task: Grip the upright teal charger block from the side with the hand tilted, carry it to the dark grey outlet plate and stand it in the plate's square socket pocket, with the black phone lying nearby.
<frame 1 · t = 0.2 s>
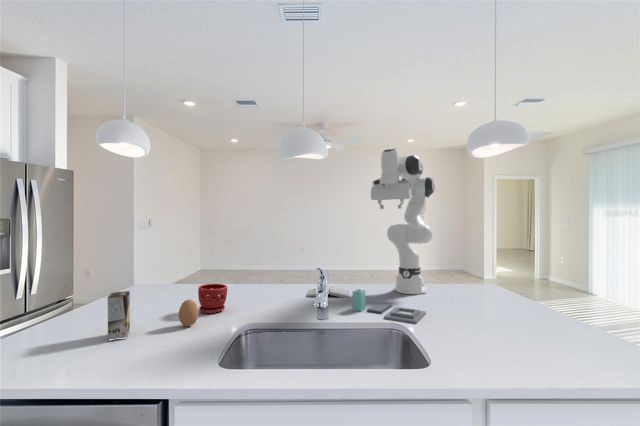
hand: (390, 208, 173), 48 cm above the worktop, tool pointing down, fingers open, 8 cm apart
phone: (379, 309, 165), on the worktop
gadget: (328, 295, 195), on the worktop
coffee box: (119, 336, 130), on the worktop
plant pot: (213, 311, 163), on the worktop
egg: (188, 326, 142), on the worktop
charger: (359, 309, 164), on the worktop
outlet plate: (405, 316, 153), on the worktop
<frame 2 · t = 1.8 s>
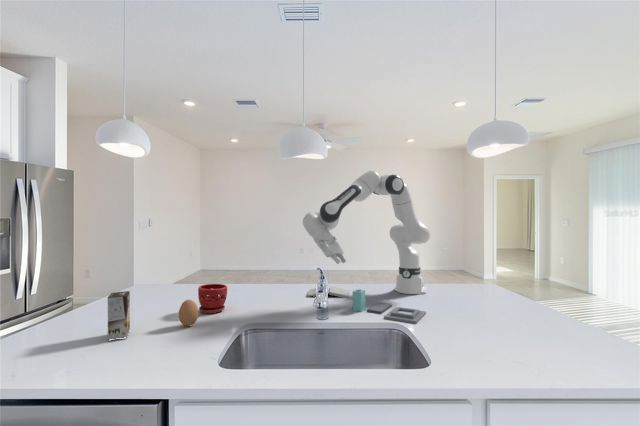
hand: (342, 262, 167), 22 cm above the worktop, tool tilted 40°, fingers open, 8 cm apart
nothing on the worktop moved.
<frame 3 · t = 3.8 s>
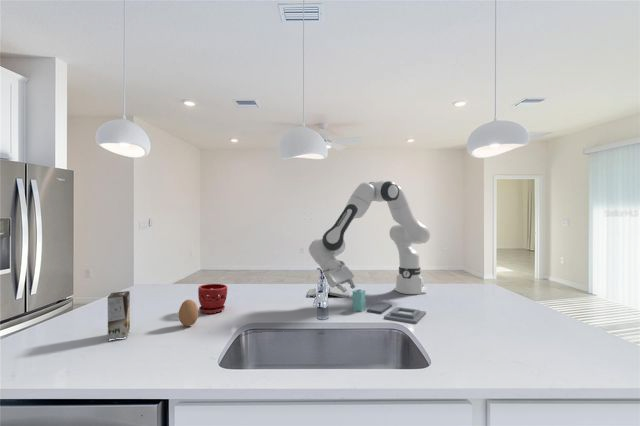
hand: (349, 289, 166), 9 cm above the worktop, tool tilted 45°, fingers open, 8 cm apart
nothing on the worktop moved.
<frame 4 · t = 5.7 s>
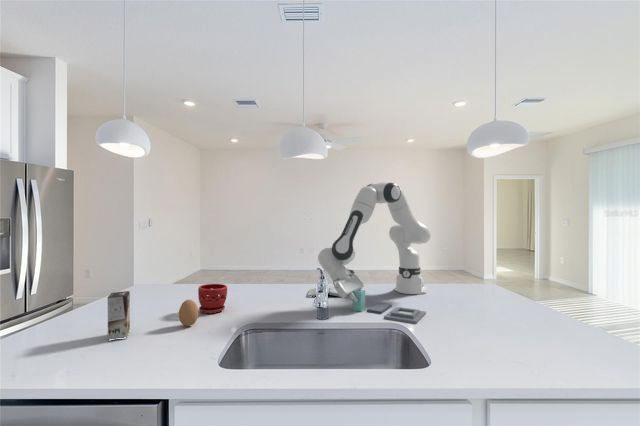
hand: (360, 299, 163), 5 cm above the worktop, tool tilted 45°, fingers closed on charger, 4 cm apart
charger: (359, 309, 164), on the worktop, touching gripper
everything else where it was.
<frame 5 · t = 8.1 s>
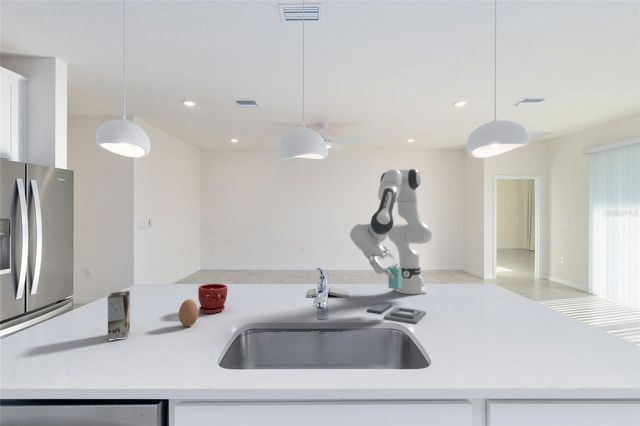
hand: (396, 276, 155), 17 cm above the worktop, tool tilted 45°, fingers closed on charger, 4 cm apart
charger: (395, 287, 155), point 12 cm above the worktop, touching gripper
everything else where it was.
when the fingers open (7 cm above the worktop, at t = 10.8 s): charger drops 1 cm, resting on outlet plate.
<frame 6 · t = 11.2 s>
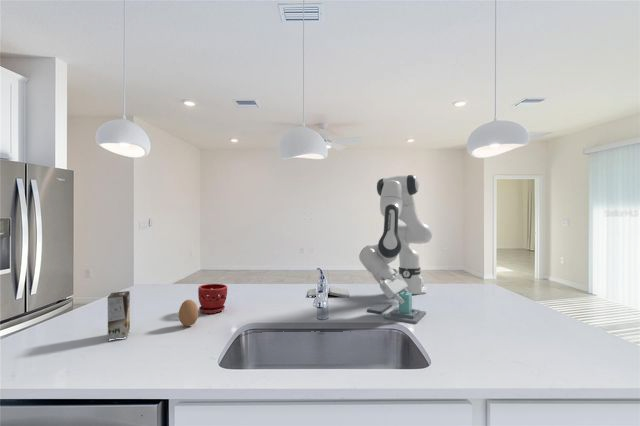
hand: (406, 300, 153), 7 cm above the worktop, tool tilted 45°, fingers open, 8 cm apart
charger: (405, 313, 153), point 1 cm above the worktop, touching outlet plate
everything else where it was.
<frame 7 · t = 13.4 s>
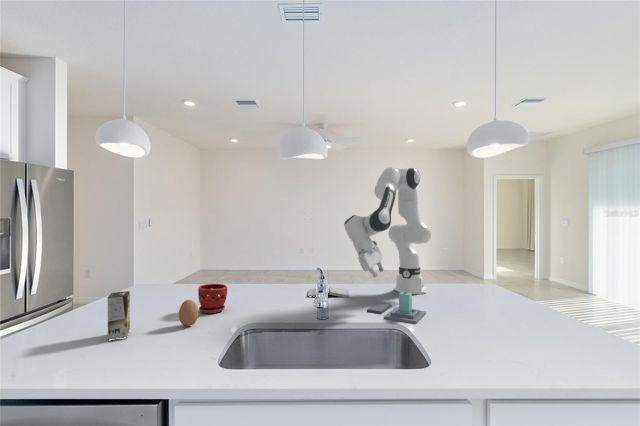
hand: (379, 273, 162), 17 cm above the worktop, tool tilted 30°, fingers open, 8 cm apart
nothing on the worktop moved.
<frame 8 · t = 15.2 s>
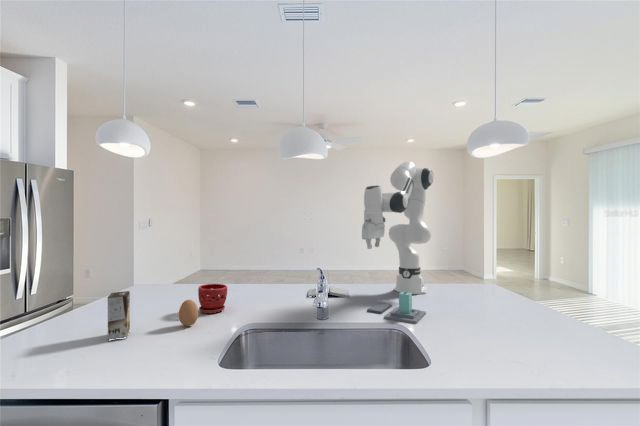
hand: (373, 247, 166), 29 cm above the worktop, tool pointing down, fingers open, 8 cm apart
nothing on the worktop moved.
at the end: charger 0.1 cm off-centre on the outlet plate, point 1.1 cm above the outlet plate's base; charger tilted 0°; the gripper is holding nothing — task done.
